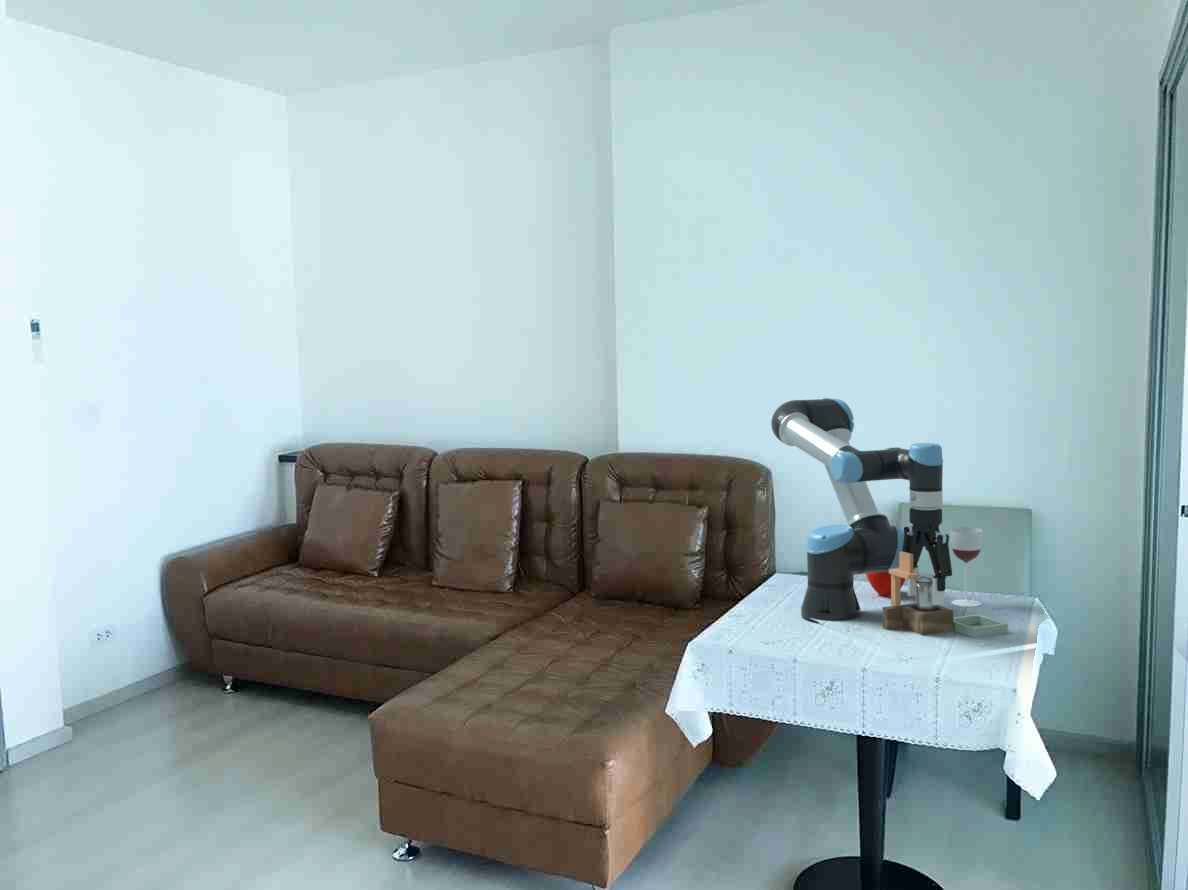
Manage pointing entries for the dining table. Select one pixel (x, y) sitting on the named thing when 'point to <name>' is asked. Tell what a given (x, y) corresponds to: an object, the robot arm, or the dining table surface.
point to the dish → (987, 629)
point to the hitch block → (918, 619)
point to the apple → (882, 582)
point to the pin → (924, 592)
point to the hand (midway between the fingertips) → (925, 599)
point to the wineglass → (966, 554)
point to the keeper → (904, 572)
